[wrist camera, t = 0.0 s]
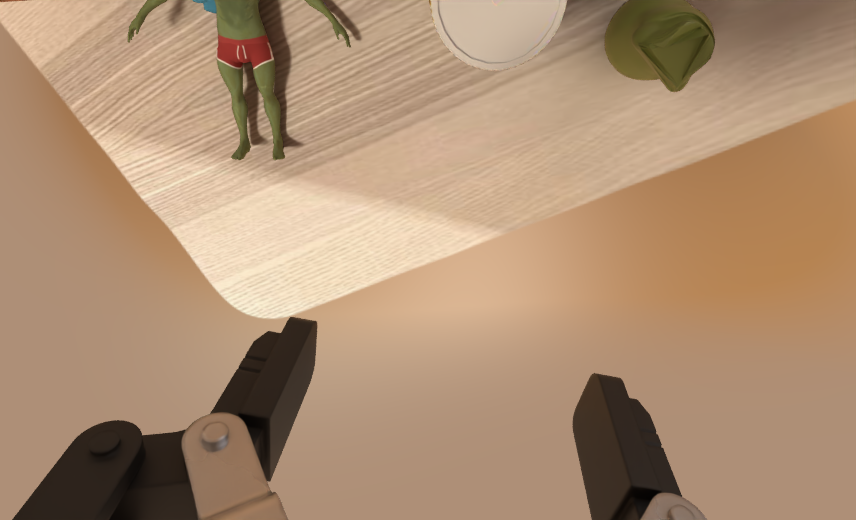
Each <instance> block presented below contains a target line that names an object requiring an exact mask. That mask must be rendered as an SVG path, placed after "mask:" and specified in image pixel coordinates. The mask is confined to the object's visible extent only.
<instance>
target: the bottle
mask: <svg viewBox="0 0 856 520" xmlns="http://www.w3.org/2000/svg"><path fill="white" fill-rule="evenodd" d="M566 2H567V0H429V3H430V8H431V15H432V18H433V21H434V22H433V23H434V25H435V26H436V31H437V32H438V33H439V35H440V36H439V37H440V39H442V40H443V42H444V45H445V46H447V47H448V50H449V51H451V52H452V53H453V55H454V56H457V57H458V58H459V60H461V61H464V62H465V63H466V64H469V65H471V66H472V67H477V68H478V69H485V70H493V71H495V70H503V69H510V68H512V67H517V66H518V65H520V64H521V65H522V64H524V63H525V62H526V61H529V60H530V59H531V58H533V57H535V56H536V55H537V54H538V53H539V52H541V51H542V50H543V48H544V47H545V46H547V45H548V43H549V41H550V40H551V39H552V38H553V36H554V34H555V33H556V32H557V30H558V27H559V25H560V24H561V20H562V17H563V16H564V11H565V8H566V6H567V5H566Z"/></svg>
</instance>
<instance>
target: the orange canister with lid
mask: <svg viewBox="0 0 856 520" xmlns="http://www.w3.org/2000/svg"><path fill="white" fill-rule="evenodd" d="M8 1H25V0H0V2H8Z"/></svg>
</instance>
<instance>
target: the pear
mask: <svg viewBox="0 0 856 520" xmlns="http://www.w3.org/2000/svg"><path fill="white" fill-rule="evenodd" d="M714 45H715V39H714V32H713V28H712V25H711V23H710V21H709V19H708V18H707V17H706V16H705V15H704V14H703V13H702V12H701V11H699V10H698V9H695V8H693V7H692V6H691V5H690V4H689V3H688V2H687V1H685V0H629V1H628V2H626V3H625V4H624V5H623V6H622V7H621V8H620V9H619V10H618V11H617V12H616V14H615V15H614V16H613V18H612V19H611V21H610V23H609V25H608V28H607V30H606V34H605V51H606V54H607V57H608V59H609V61H610V63H611V64H612V65H613V67H614V68H615V69H616V70H617V71H618V72H620V73H621V74H623V75H624V76H626V77H629V78H632V79H636V80H656V79H660V80H661V81H662V82H663V84H664V85H665V86H666V87H667V89H668V90H669V91H671V92H677V91H680V90H681V89H683V88H684V87H685V85H686V84H687V83H688V81H689V79H690V77H691V75H692V74H694V73H695V72H696V71H697V70H699V69H700V68H701V67H702V66H703V65H704V64H706V62H708V60H709V59H710V58H711V55H712V53H713V49H714Z"/></svg>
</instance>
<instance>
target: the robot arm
mask: <svg viewBox="0 0 856 520" xmlns="http://www.w3.org/2000/svg"><path fill="white" fill-rule="evenodd" d="M316 337H317V322H316V321H312V320H306V319H301V318H295V317H290V318H289V320H288V321H287V323H286V325H285V327H284V329H283V331H282V332H281V333H276V332H271V331H268V332H266V333H265V334H264V335H262V336H261V337H260V338H258V339H257V340H255V341H254V342H253V344H252V346H251V347H250V349H249V351H248V352H247V354H246V356H245V358H244V359H243V361H242V362H241V364H240V365H239V368H238V369H237V370H236V372H235V374H234V376H233V377H232V379H231V380H230V382H229V384H228V385H227V387H226V389H225V390H224V392H223V394H222V395H221V397H220V399H219V400H218V402H217V404H216V405H215V407H214V409H213V410H212V411H211V413H210V414H208V415H206V416H203V417H201V418H199V419H197V420H196V421H194V422H193V423H192V424H191V425H190V426H189V427H188V428H187V429H186V430H183V431H179V432H173V433H163V434H153V435H142V433H141V431H140V429H139V428H138V427H137V426H136V425H134V424H133V423H130V422H127V421H119V420H117V421H108V422H104V423H100V424H98V425H95V426H93V427H91V428H89V429H87V430H86V431H84V432H83V433H81V434H80V435H79V436H78V437H77V438H76V439H75V440H74V441H73V442H72V444H71V445H70V446H69V447H68V449H67V450H66V451H65V452H64V454H63V455H62V456H61V458H60V459H59V460H58V461H57V463H56V464H55V465H54V467H53V468H52V469H51V471H50V472H49V473H48V474H47V476H46V477H45V478H44V480H43V481H42V482H41V483H40V485H39V486H38V487H37V489H36V490H35V491H34V492H33V494H32V495H31V496H30V498H29V499H28V501H26V503H25V504H24V505H23V507H22V508H21V509H20V510H19V512H18V513H17V514H16V516H15V517H14V518H13V519H12V520H288V519H287V516H286V513H285V511H284V508H283V506H282V503H281V501H280V498H279V497H278V495H277V493H276V492H273V493H272V492H271V490H270V488H269V486H268V483H267V481H271V478H272V476H273V473H274V471H275V468H276V466H277V463H278V461H279V458H280V456H281V453H282V451H283V448H284V446H285V443H286V441H287V438H288V436H289V434H290V431H291V429H292V426H293V424H294V421H295V418H296V416H297V414H298V411H299V409H300V406H301V404H302V401H303V399H304V396H305V394H306V392H307V389H308V387H309V384H310V381H311V378H312V375H313V371H314V366H315V355H316V339H317V338H316ZM573 433H574V438H575V442H576V447H577V452H578V456H579V461H580V466H581V471H582V475H583V480H584V485H585V489H586V494H587V499H588V504H589V508H590V513H591V517H592V520H707V519H706V518H705V516H704V515H703V514H702V512H701V511H700V510H698V508H697V507H696V506H695V505H693V504H692V503H690V502H689V501H688V500H686V499H685V498H683V497H682V495H681V493H680V490H679V487H678V485H677V482H676V480H675V477H674V475H673V472H672V470H671V467H670V465H669V462H668V460H667V457H666V454H665V452H664V449H663V448H661V445H662V444H661V442H660V439H659V437H658V435H657V434H656V429H655V427H654V424H653V422H652V419H651V417H650V415H649V413H648V412H647V411H646V410H645V409H644V407H643V406H642V405H641V404H640V402H639V401H638V400H637V399H631V398H629V396H628V394H627V391H626V388H625V385H624V383H623V381H622V379H621V378H617V377H612V376H607V375H601V374H595V373H594V374H592V375H591V377H590V378H589V381H588V383H587V385H586V387H585V389H584V391H583V394H582V396H581V398H580V400H579V402H578V404H577V407H576V409H575V412H574V416H573Z"/></svg>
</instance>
